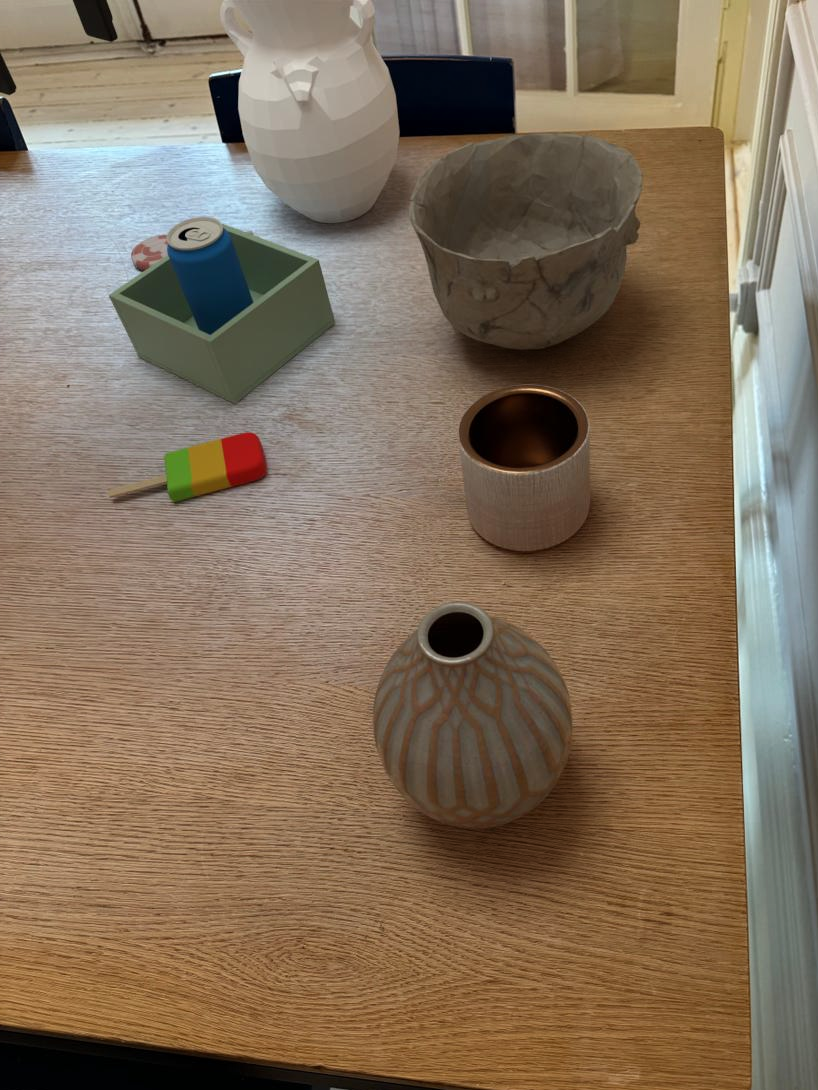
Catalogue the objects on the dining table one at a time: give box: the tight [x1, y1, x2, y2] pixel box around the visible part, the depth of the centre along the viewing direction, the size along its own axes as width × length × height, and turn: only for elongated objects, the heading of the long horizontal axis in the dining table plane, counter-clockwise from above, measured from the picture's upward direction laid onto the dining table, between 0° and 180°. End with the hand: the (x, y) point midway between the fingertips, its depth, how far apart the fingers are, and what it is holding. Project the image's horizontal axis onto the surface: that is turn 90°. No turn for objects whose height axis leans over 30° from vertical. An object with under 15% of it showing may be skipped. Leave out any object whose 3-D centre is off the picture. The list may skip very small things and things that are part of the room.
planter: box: [456, 383, 591, 552], centre depth 75 cm, size 11×11×10 cm
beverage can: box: [166, 216, 254, 335], centre depth 92 cm, size 6×6×12 cm
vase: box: [372, 601, 574, 830], centre depth 57 cm, size 13×13×18 cm
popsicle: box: [107, 431, 267, 503], centre depth 84 cm, size 6×15×2 cm, turn 106°
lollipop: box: [130, 230, 254, 271], centre depth 108 cm, size 7×1×15 cm
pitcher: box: [219, 0, 401, 224], centre depth 102 cm, size 19×18×25 cm
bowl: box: [408, 132, 644, 351], centre depth 88 cm, size 22×22×15 cm
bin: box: [108, 223, 336, 405], centre depth 94 cm, size 16×16×8 cm
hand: (54, 63), depth 67 cm, fingers open, 9 cm apart
